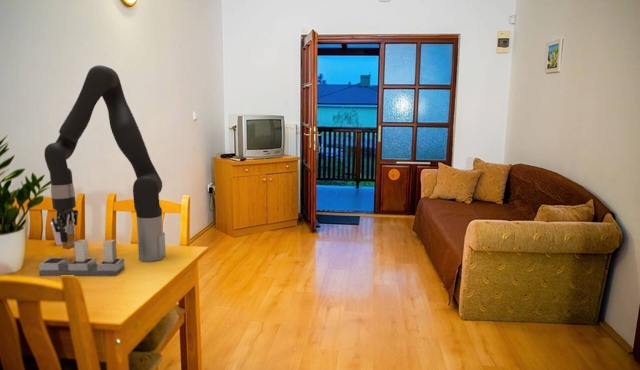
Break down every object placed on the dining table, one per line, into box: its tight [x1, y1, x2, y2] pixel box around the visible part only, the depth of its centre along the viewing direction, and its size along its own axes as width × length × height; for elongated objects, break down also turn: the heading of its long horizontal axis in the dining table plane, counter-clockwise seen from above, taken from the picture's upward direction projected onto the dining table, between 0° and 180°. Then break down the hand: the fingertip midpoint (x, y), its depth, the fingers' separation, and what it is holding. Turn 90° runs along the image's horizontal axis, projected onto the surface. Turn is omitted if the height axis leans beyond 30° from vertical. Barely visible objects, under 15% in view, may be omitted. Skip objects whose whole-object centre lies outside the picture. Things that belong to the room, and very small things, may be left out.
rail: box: [38, 239, 125, 277], centre depth 154 cm, size 27×8×12 cm, turn 92°
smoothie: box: [50, 221, 62, 246], centre depth 184 cm, size 6×6×14 cm
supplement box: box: [61, 222, 75, 250], centre depth 164 cm, size 3×3×10 cm
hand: (68, 239), depth 164 cm, fingers closed on supplement box, 4 cm apart
